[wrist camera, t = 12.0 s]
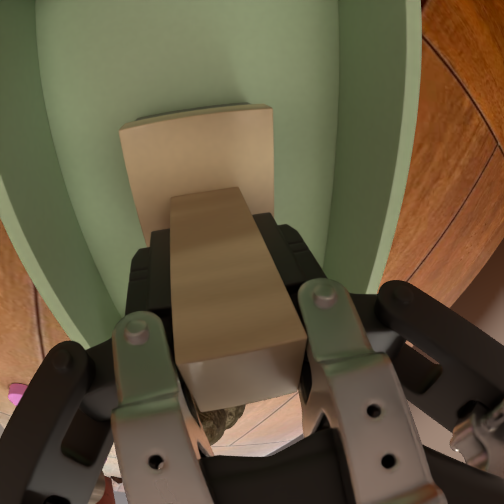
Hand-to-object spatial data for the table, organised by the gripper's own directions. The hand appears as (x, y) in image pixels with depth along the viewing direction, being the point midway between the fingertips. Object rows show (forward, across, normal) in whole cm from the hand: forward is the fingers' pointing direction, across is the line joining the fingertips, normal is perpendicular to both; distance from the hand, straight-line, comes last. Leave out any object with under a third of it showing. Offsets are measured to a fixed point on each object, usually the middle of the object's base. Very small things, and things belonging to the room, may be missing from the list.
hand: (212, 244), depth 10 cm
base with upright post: (+5, 0, 0) cm, 5 cm away
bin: (+6, 0, -2) cm, 6 cm away
